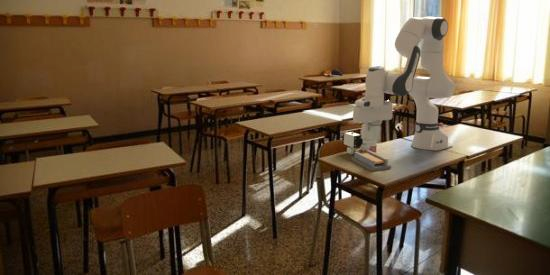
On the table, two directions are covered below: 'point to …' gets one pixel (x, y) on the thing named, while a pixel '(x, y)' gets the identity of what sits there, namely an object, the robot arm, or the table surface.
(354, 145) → the pneumatic valve
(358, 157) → the channel rail
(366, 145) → the ink cartridge box
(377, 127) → the module block
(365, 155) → the brown flat bar
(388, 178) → the table surface
